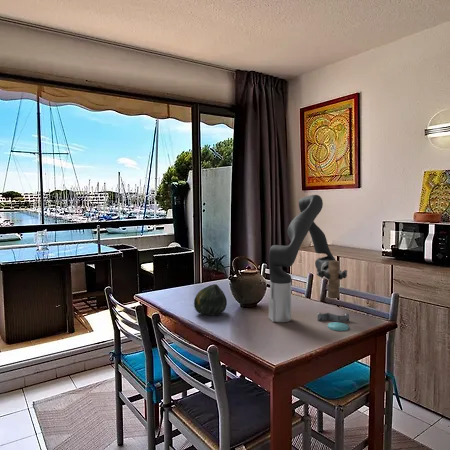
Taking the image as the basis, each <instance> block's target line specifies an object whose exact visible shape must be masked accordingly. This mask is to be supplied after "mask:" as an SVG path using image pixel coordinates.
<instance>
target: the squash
mask: <svg viewBox="0 0 450 450" xmlns="http://www.w3.org/2000/svg"><path fill="white" fill-rule="evenodd" d="M193 300H194V301H193V307H194V309H195V311H196V312H197V313H198V314H200V315H202V316H205V315H208V316H210V315H214V316H219V315H221V314H222V313H224V311H225V310H226V308H227V305H228V303H227V297H226V294H225V292H224V291H223V290H222V288H221V287H220V286H219V285H218V284H216V283H214V284H209V285H208V286H206V287H204V288H202V289H201V290H199V291H198V292H197V294H196V295H195V297H194V299H193Z"/></svg>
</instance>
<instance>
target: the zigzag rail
mask: <svg viewBox="0 0 450 450" xmlns="http://www.w3.org/2000/svg"><path fill="white" fill-rule="evenodd" d="M322 321H331V322H339V323H347V322H346V321H349V322H350V313H349V312H346V313H345V314H334V313H330V312H325V313H322V312H317V322H322Z"/></svg>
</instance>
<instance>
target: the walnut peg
mask: <svg viewBox="0 0 450 450" xmlns="http://www.w3.org/2000/svg"><path fill="white" fill-rule="evenodd" d="M340 263H341V262H340V261H339V260H336V259H335V260H330V261H329V270H328V273H329V279H327V280H328V282H327V285H328V286H327V287H328V288H327V297H328V298H329V299H335V300H336V299H339V298H340V279H339V270H340Z"/></svg>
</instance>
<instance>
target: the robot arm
mask: <svg viewBox="0 0 450 450" xmlns="http://www.w3.org/2000/svg"><path fill="white" fill-rule="evenodd" d="M323 202H324V201H323V198H322V197H321V196H320V195H318V194H312V195H308V196H304V197H300V198H299V201H298V208H299V211H300V213H299V214H297V215H296V216H295V217H294V218H293V219H292V220H291V221H290V223H289V225H288V227H287V230H286V231H287V236H288V238H289V241H290V243H289V244H288V245H280V244H273V245H271V247H270V248H269V252H268V267H269V268H268V269H269V272H268V273H269V279H270V282H269V286H270V287H269V288H270V290H269V291H270V295H269V297H268V319H269V320H270V321H271V322H273V323H274V322H275V323H288V322H290V321H292V276H291V274H289V273H288V272H286V271H285V270H283V269H282V267H285V268H290V267H292V266H293V264H294V263H295V260H296V259H297V257H298V254H299V250H300V248H301V246H302V243H303V242H304V240H305V238H306V236H307V235H308V233H309V234H310V237H311V240H312V244H313V248H314V252H315V253H316V254H325V255H326V256H323V257H318V258H317V259H316V260H315V261H314V265H315V268H316V276H318V277H319V278H325V279H327V280H328V279H329V273H328V270H329V261H330V260H336V258H335V257H334V256H333V254H332V252H331V250H330V247H329V244H328V240H327V237H326V234H325V233H324V231H323V230H322V229H321V228H320V227H319V226H318V225H317V224H316V223H315V220H316V218H317V217H318V215H319V214H320V213H321V211H322V208H323V206H324V205H323V204H324V203H323ZM347 277H348V270H346V269H344V270H341V269H339V281H341V280H343V279H346V278H347Z"/></svg>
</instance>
